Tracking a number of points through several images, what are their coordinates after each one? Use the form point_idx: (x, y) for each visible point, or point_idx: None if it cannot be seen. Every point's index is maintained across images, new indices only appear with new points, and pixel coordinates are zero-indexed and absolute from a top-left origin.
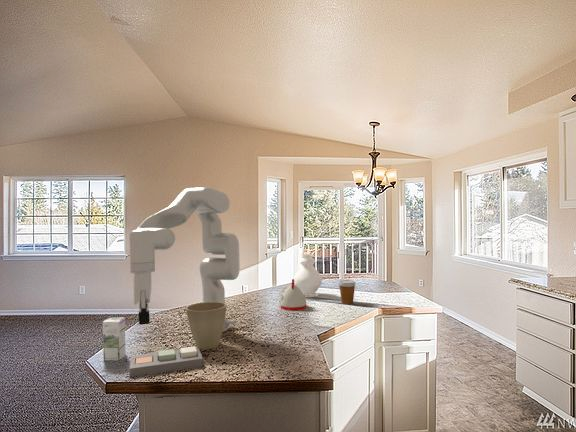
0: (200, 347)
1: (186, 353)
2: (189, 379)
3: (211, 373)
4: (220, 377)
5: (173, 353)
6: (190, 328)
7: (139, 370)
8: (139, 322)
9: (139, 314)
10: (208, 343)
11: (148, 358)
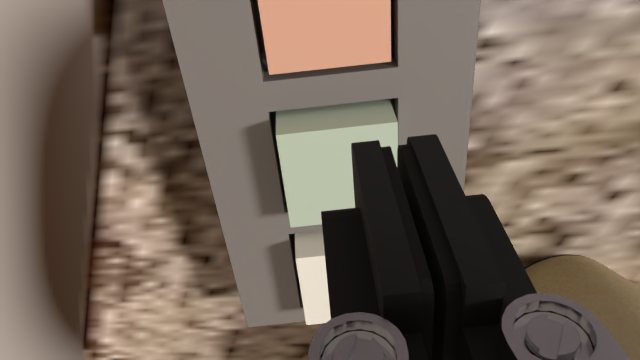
0: None
1: (299, 277)
2: (127, 237)
3: (189, 312)
4: (136, 339)
5: (302, 219)
6: (638, 335)
7: None
8: (358, 164)
9: (379, 270)
10: None
11: (347, 38)
